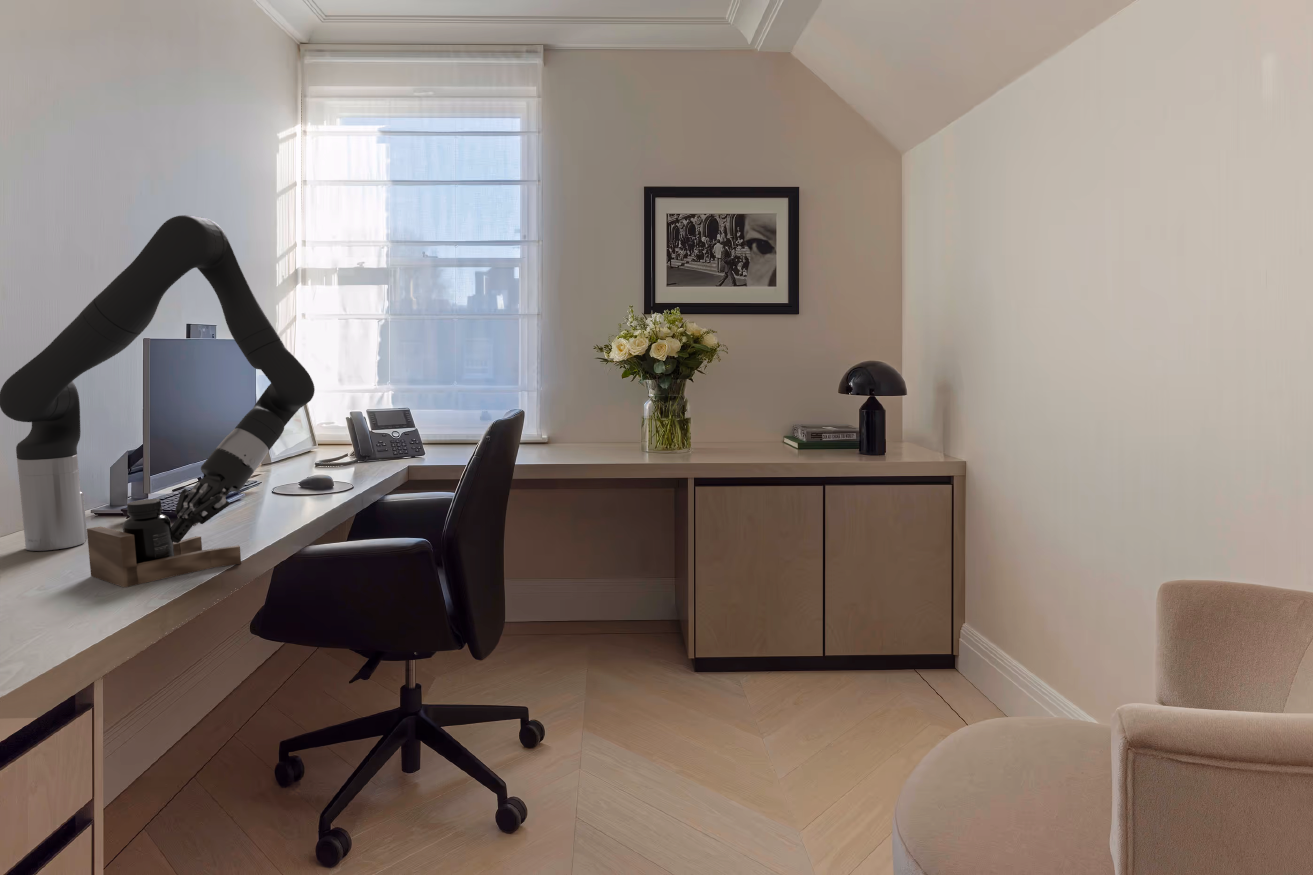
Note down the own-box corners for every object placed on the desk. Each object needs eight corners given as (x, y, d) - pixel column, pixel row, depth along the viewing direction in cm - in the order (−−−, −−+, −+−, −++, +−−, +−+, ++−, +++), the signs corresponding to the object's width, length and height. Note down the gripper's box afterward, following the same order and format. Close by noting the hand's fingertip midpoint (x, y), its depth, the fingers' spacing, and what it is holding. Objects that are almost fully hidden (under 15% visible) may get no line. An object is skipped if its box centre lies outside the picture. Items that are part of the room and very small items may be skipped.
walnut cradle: (199, 551, 151) (196, 509, 150) (243, 562, 143) (240, 517, 142) (86, 574, 136) (82, 527, 135) (129, 588, 128) (124, 538, 127)
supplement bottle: (173, 563, 142) (166, 495, 140) (178, 572, 137) (171, 501, 135) (126, 570, 138) (118, 501, 136) (129, 580, 133) (121, 507, 131)
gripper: (200, 444, 149) (134, 523, 141) (240, 448, 142) (172, 532, 133) (231, 469, 154) (169, 547, 146) (271, 474, 147) (208, 556, 138)
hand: (170, 539), depth 140 cm, fingers closed
